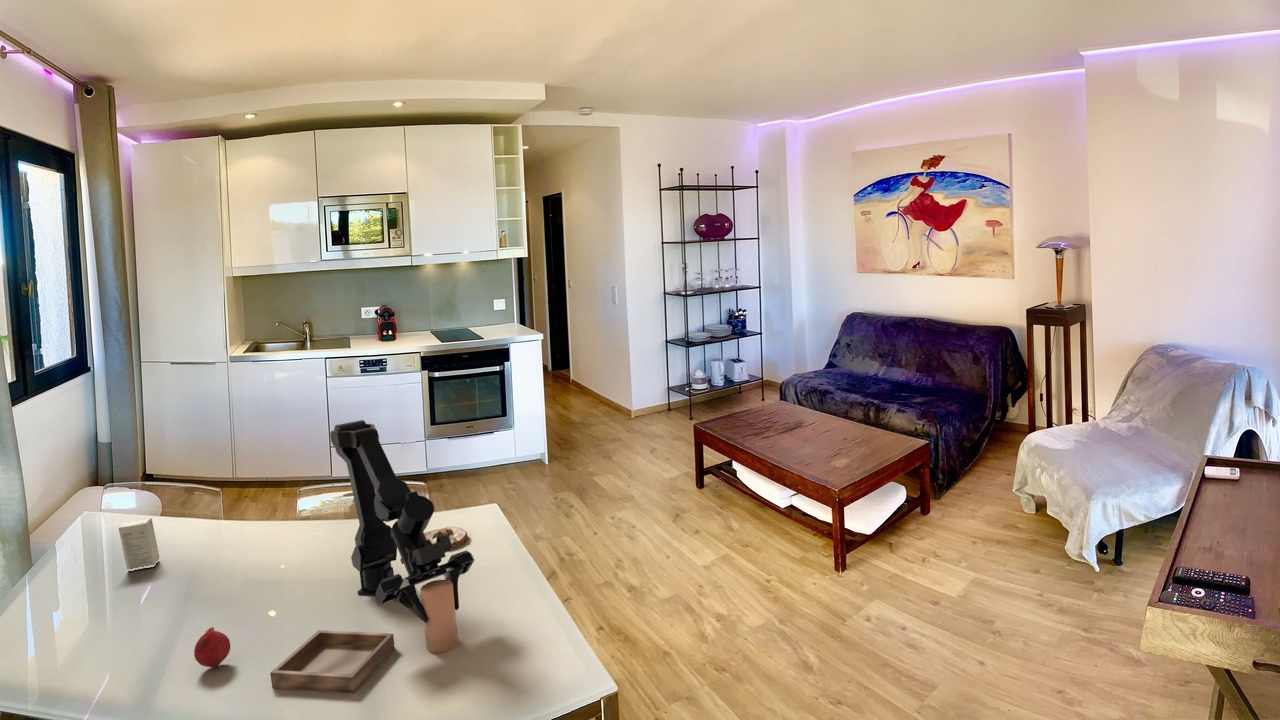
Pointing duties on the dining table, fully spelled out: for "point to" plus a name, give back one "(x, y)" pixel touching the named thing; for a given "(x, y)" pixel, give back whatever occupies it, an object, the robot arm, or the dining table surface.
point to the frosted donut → (454, 534)
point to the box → (333, 661)
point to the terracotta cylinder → (439, 616)
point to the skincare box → (139, 543)
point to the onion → (211, 648)
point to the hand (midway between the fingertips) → (442, 615)
